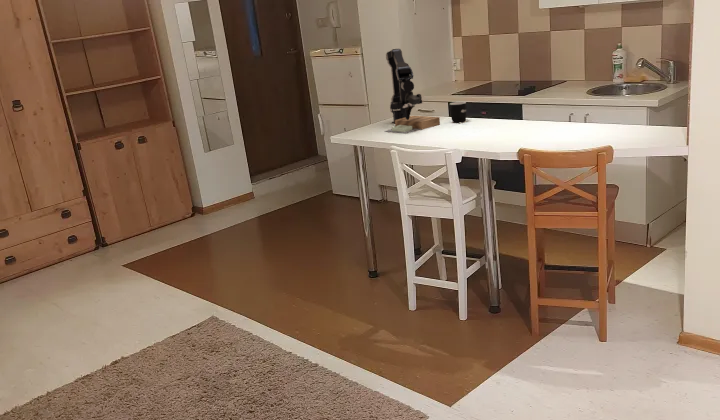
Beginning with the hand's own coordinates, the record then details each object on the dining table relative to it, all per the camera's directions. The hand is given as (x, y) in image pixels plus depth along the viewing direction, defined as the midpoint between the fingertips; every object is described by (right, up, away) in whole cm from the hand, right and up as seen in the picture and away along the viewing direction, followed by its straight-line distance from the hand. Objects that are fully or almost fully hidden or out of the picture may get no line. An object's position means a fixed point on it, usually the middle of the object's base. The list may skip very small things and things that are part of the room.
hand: (407, 119), depth 351 cm
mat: (-3, -6, -1) cm, 7 cm away
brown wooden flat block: (+6, -2, +7) cm, 9 cm away
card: (-3, -4, -3) cm, 6 cm away
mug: (+29, 0, +7) cm, 30 cm away
